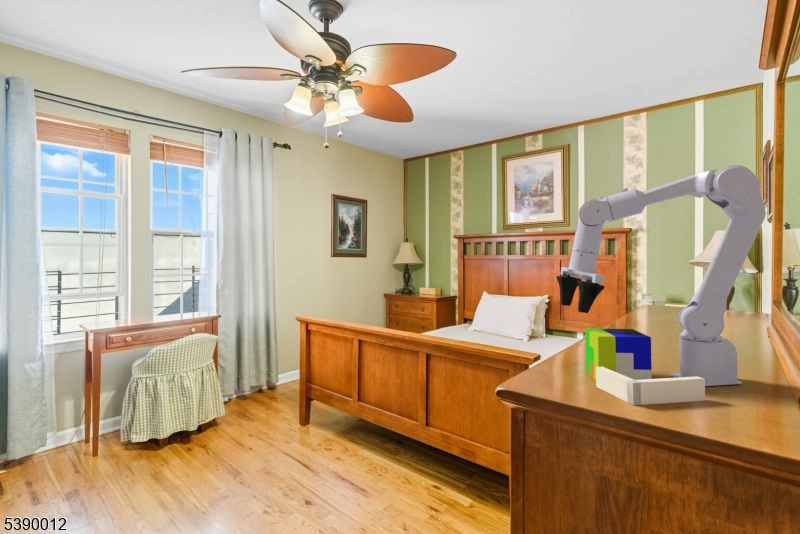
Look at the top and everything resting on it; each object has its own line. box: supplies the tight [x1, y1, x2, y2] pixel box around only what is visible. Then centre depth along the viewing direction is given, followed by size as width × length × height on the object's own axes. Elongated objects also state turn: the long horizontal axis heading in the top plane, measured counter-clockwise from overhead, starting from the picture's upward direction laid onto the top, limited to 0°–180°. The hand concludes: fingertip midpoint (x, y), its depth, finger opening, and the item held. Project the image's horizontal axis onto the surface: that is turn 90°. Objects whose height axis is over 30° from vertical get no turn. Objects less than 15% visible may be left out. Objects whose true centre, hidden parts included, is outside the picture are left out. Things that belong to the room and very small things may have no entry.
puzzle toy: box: [585, 328, 653, 381], centre depth 86 cm, size 10×10×10 cm
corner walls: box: [595, 367, 706, 406], centre depth 76 cm, size 14×11×4 cm
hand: (573, 308), depth 94 cm, fingers open, 7 cm apart
